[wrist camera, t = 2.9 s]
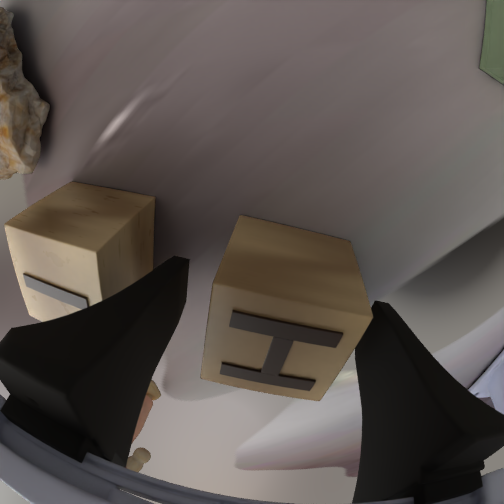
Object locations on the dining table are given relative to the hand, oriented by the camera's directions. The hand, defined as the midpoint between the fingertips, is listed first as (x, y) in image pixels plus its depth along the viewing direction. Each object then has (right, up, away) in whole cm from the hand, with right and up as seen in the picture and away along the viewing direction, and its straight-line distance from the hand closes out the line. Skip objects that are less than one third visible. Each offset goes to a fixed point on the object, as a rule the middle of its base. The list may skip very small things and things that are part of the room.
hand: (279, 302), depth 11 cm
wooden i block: (-7, +3, +2) cm, 8 cm away
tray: (+14, +14, -8) cm, 21 cm away
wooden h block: (0, +1, +2) cm, 2 cm away
